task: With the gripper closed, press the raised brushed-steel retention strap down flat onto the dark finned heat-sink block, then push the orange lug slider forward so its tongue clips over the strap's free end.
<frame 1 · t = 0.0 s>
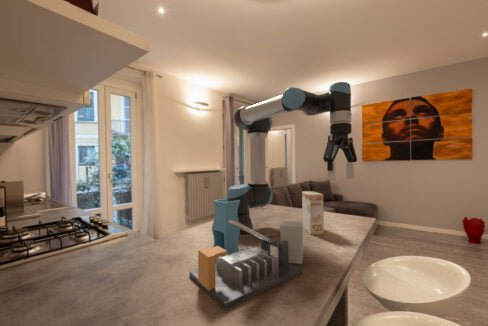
hand: (341, 179, 84), 28 cm above the worktop, fingers open, 13 cm apart
strap: (255, 234, 70), point 12 cm above the worktop, hinge at 30.0°
vase: (226, 252, 85), on the worktop
lug slider: (213, 266, 60), point 6 cm above the worktop, slide at 0.0 cm
coffeecake box: (312, 230, 114), on the worktop
heatsink: (248, 273, 68), on the worktop
supplement box: (292, 259, 78), on the worktop
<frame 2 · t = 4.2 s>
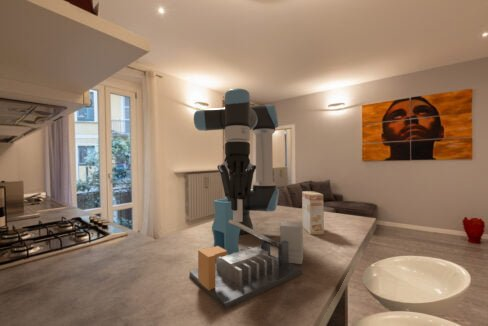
hand: (237, 220, 65), 17 cm above the worktop, fingers closed
strap: (255, 234, 70), point 12 cm above the worktop, hinge at 30.0°, touching gripper
everything else where it was.
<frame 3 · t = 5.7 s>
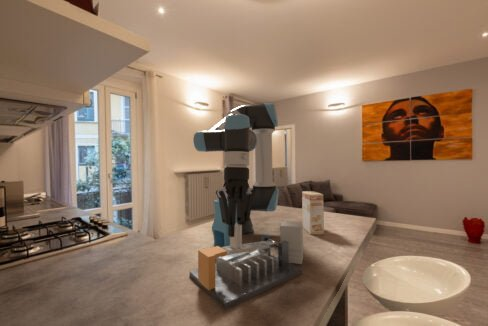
hand: (235, 246, 64), 9 cm above the worktop, fingers closed, pressing on strap
strap: (252, 246, 69), point 8 cm above the worktop, hinge at 6.1°, touching gripper
everything else where it was.
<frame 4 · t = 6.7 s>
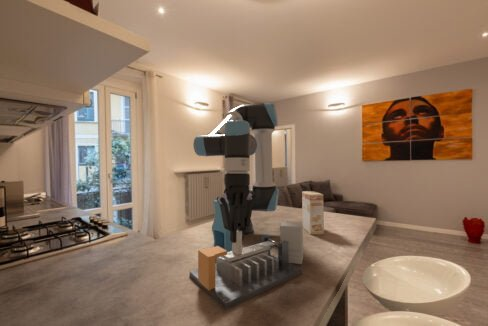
hand: (237, 252, 65), 8 cm above the worktop, fingers closed
strap: (252, 249, 69), point 7 cm above the worktop, hinge at 0.2°, touching gripper
everything else where it was.
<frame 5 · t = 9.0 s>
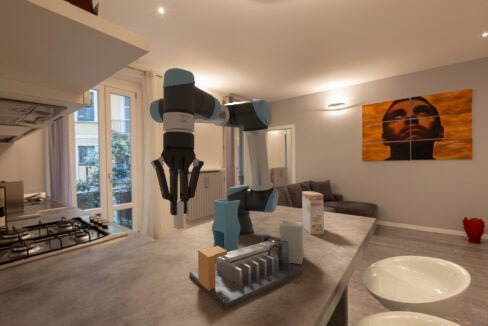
hand: (178, 227, 54), 18 cm above the worktop, fingers closed
strap: (252, 249, 69), point 7 cm above the worktop, hinge at 0.2°
everything else where it was.
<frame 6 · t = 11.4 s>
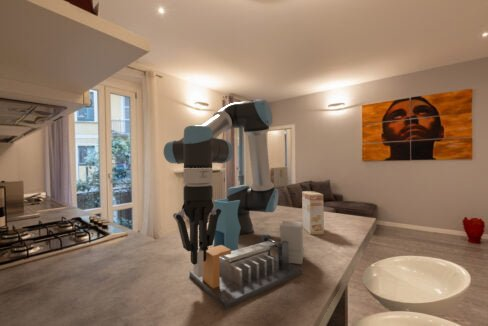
hand: (198, 274, 58), 5 cm above the worktop, fingers closed
lug slider: (217, 264, 61), point 6 cm above the worktop, slide at 1.3 cm, touching gripper
everything else where it was.
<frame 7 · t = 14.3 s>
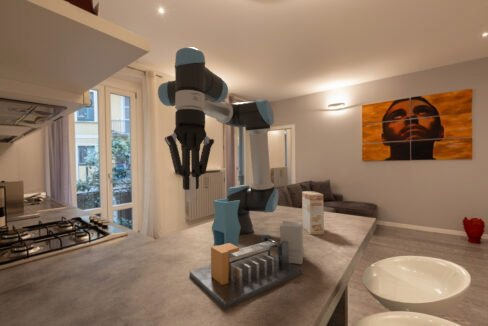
hand: (190, 202, 57), 24 cm above the worktop, fingers closed
lug slider: (225, 262, 63), point 6 cm above the worktop, slide at 4.0 cm
everything else where it was.
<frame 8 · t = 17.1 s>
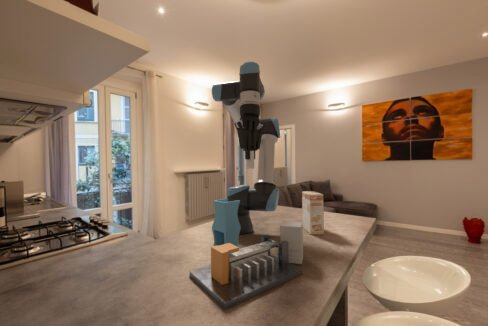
hand: (250, 168, 82), 32 cm above the worktop, fingers closed
nothing on the worktop moved.
at the end: strap at +0° (first picture: +30°); lug slider slide at 4.0 cm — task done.
